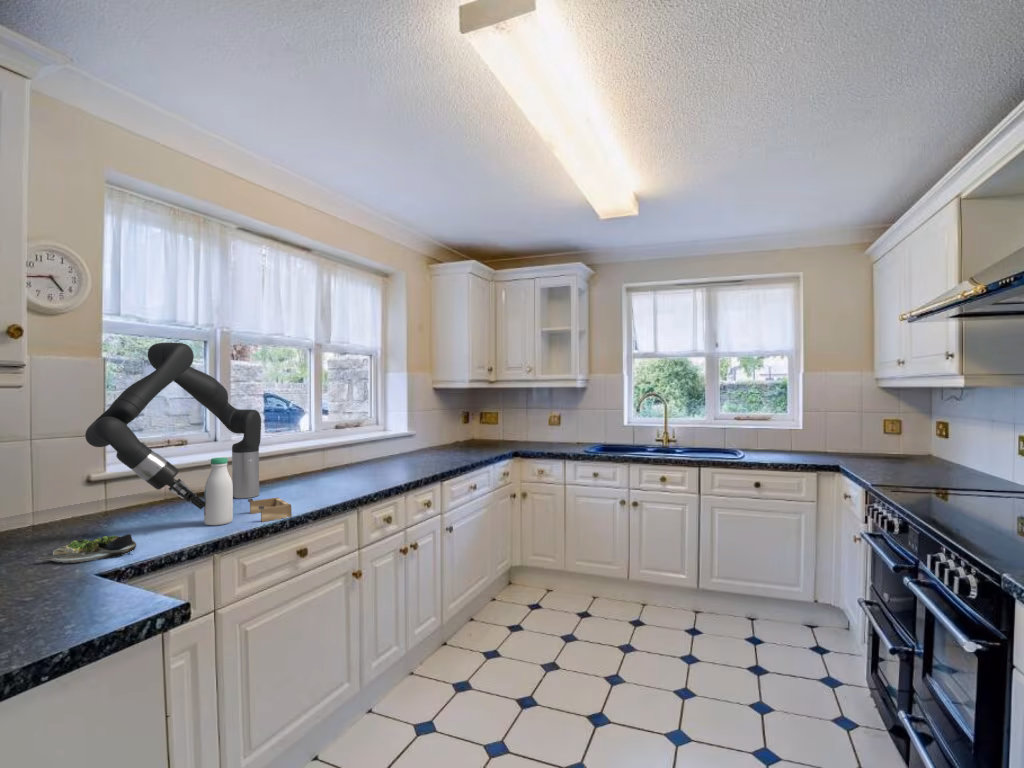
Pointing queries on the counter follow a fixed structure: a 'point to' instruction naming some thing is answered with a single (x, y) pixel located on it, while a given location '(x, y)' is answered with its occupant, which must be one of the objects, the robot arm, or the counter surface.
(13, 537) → the counter surface
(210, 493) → the milk bottle
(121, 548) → the salad plate
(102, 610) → the counter surface
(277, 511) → the light brown wooden box
